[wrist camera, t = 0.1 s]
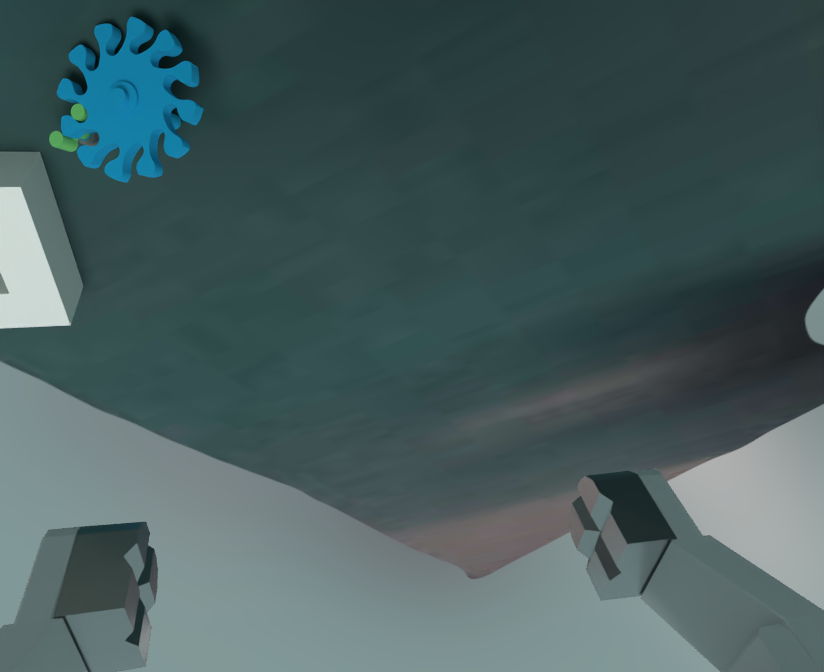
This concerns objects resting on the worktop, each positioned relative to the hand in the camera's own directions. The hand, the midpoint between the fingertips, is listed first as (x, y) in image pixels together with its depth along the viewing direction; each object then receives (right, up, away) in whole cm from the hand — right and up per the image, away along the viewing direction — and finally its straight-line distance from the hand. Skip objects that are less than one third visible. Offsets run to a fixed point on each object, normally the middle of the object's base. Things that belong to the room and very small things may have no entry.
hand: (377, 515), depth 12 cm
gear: (-18, +21, +30) cm, 41 cm away
